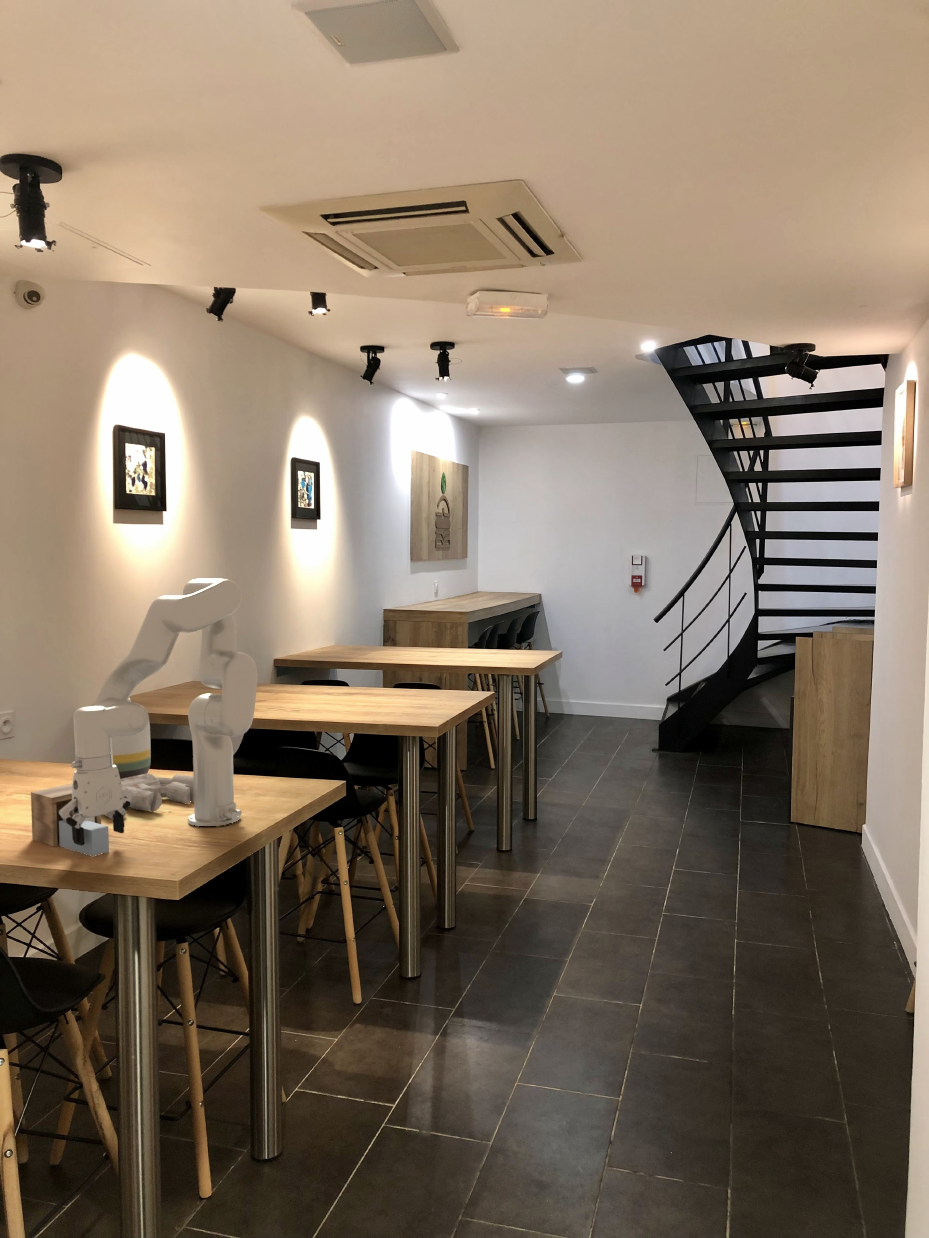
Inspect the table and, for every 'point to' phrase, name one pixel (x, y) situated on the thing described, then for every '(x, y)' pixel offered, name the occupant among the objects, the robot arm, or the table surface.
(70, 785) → the open wooden box
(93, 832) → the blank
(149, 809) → the white branched piece
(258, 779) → the table surface
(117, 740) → the vase
